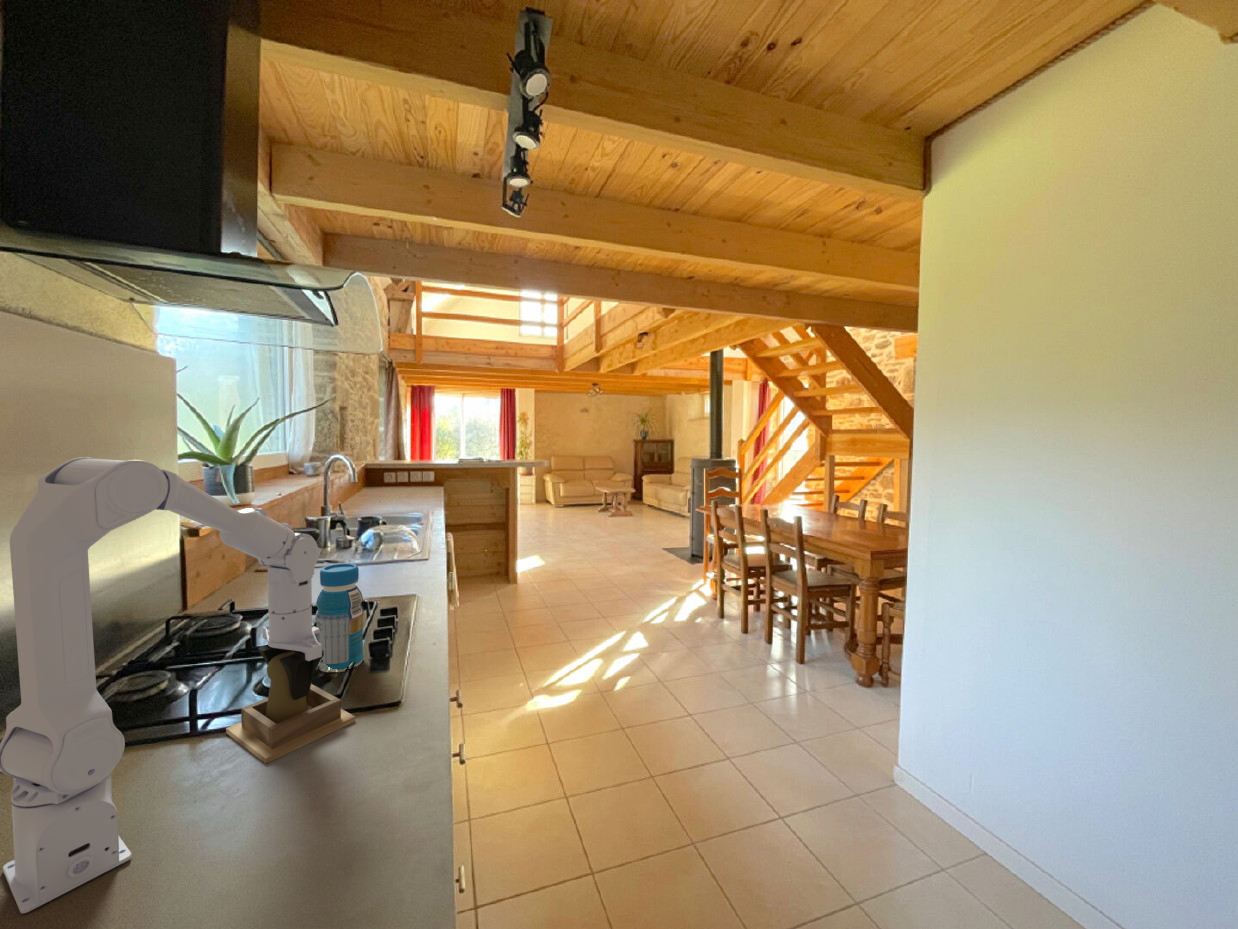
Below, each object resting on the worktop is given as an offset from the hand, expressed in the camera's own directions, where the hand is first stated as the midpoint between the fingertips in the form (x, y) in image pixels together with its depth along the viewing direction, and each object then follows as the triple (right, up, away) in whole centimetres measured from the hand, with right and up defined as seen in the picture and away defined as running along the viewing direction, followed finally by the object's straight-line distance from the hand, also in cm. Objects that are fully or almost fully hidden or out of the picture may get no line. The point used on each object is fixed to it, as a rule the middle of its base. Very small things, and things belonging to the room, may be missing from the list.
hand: (291, 692), depth 81 cm
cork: (-1, -5, 0) cm, 5 cm away
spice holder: (0, -6, 0) cm, 6 cm away
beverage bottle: (-4, -5, +22) cm, 23 cm away
